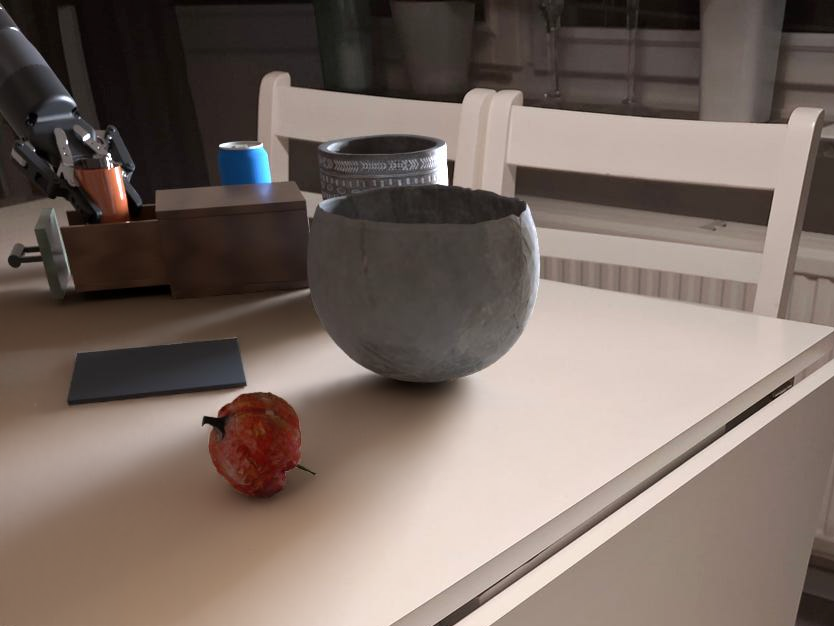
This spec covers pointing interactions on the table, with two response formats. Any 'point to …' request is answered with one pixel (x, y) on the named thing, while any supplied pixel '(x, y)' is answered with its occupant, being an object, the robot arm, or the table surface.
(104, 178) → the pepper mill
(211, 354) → the mat
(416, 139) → the planter
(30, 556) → the table surface
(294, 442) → the pomegranate
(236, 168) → the beverage can
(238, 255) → the cabinet
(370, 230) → the bowl
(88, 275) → the drawer
